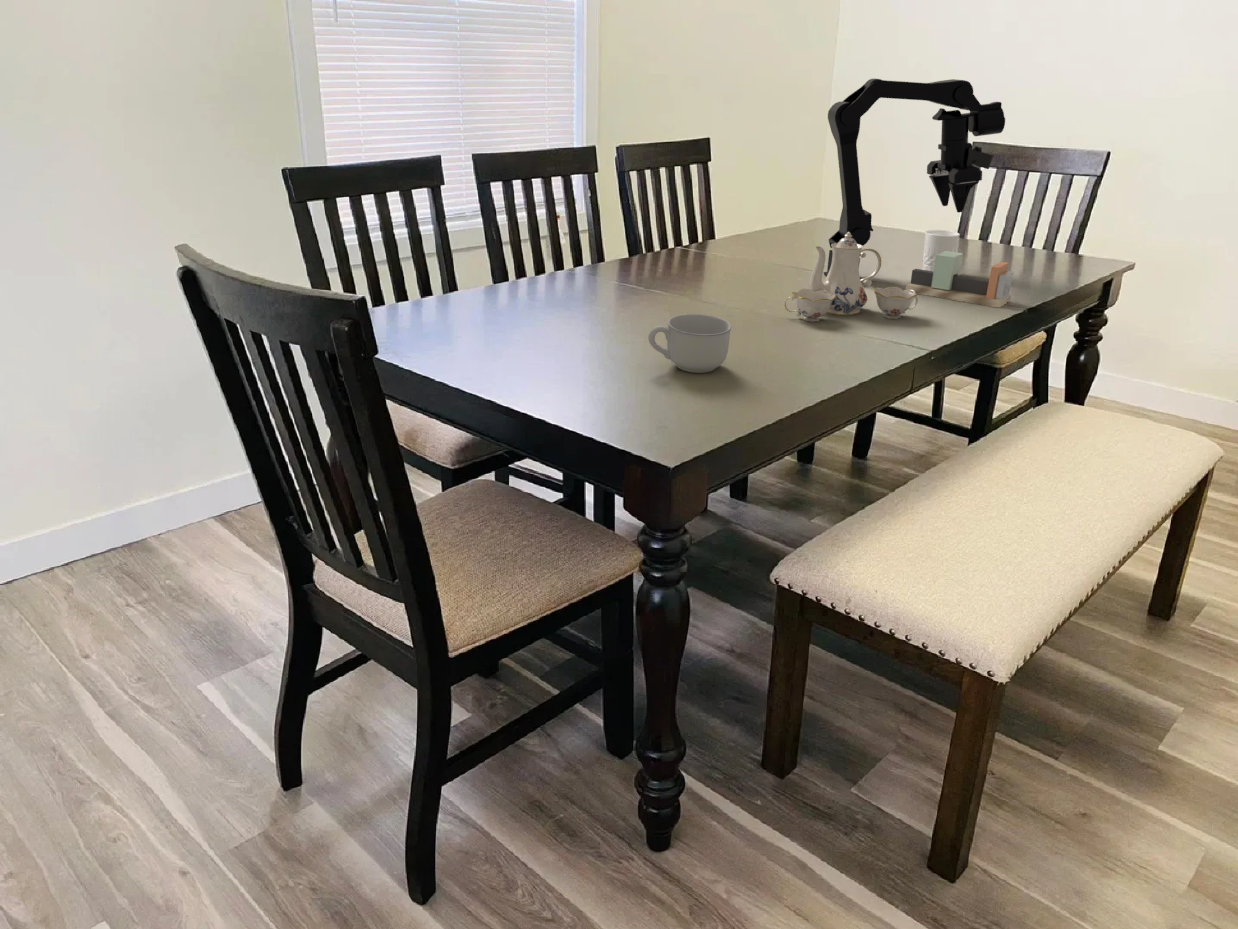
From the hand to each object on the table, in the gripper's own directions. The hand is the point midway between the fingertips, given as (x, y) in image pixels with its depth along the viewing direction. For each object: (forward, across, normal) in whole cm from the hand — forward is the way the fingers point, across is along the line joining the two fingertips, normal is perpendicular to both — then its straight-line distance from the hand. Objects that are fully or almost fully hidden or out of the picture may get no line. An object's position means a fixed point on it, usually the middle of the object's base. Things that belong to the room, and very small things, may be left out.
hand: (952, 208), depth 215 cm
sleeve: (+14, -16, +7) cm, 22 cm away
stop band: (+15, -23, -1) cm, 28 cm away
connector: (+15, -25, -2) cm, 29 cm away
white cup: (+16, +4, +2) cm, 17 cm away
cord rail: (+14, -18, +6) cm, 23 cm away
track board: (+16, -18, +5) cm, 25 cm away
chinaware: (+12, -33, +34) cm, 49 cm away
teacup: (+7, -68, +70) cm, 98 cm away
